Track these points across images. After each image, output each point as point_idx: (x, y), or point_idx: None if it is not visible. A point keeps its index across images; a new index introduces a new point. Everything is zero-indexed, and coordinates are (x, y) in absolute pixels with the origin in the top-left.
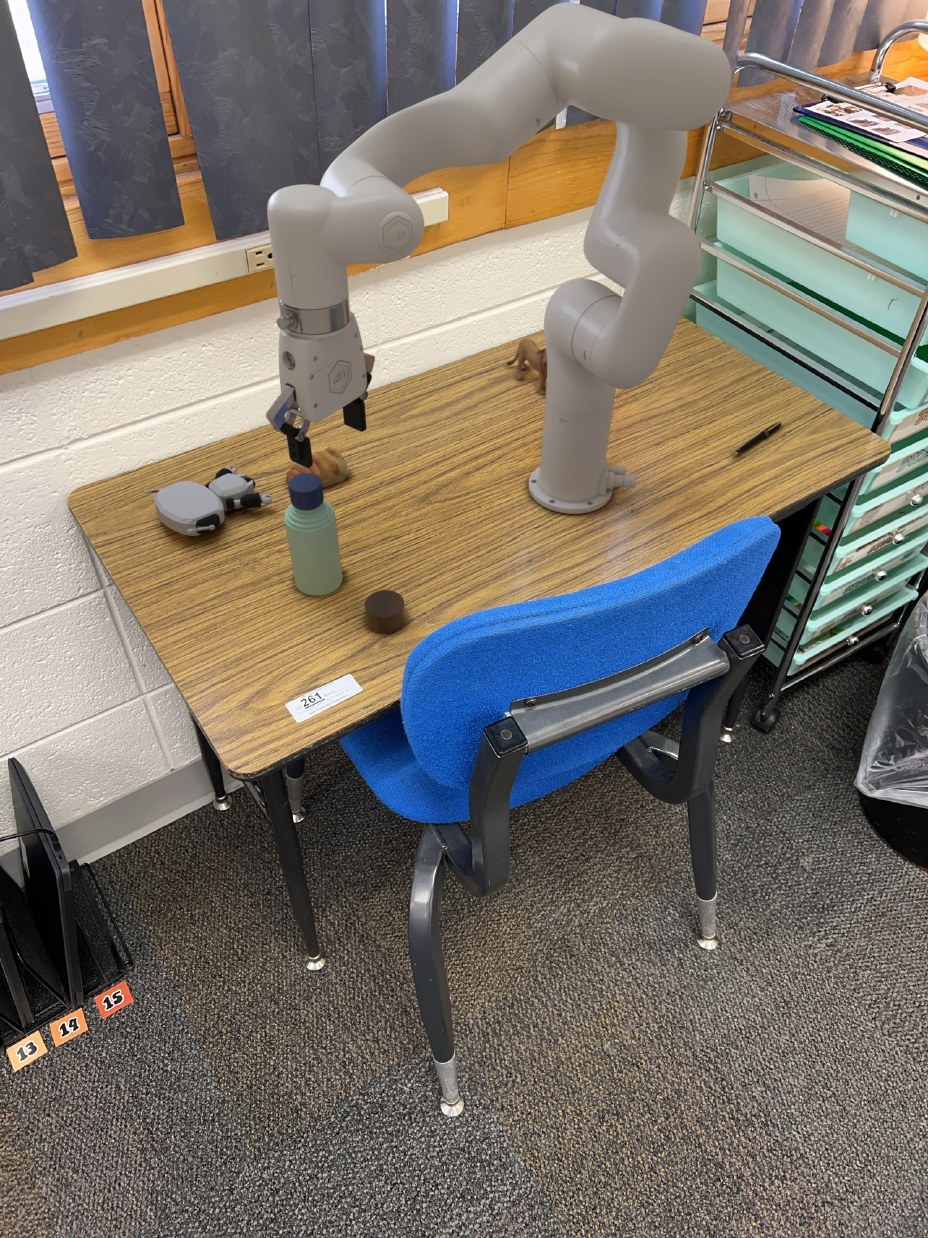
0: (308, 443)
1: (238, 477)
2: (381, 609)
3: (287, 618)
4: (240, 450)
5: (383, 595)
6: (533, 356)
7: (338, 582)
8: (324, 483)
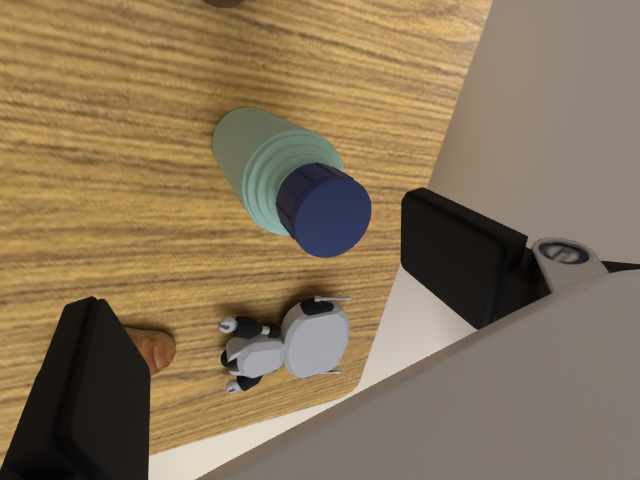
0: (497, 229)
1: (246, 367)
2: None
3: (329, 107)
4: (188, 422)
5: None
6: None
7: (237, 110)
8: None
